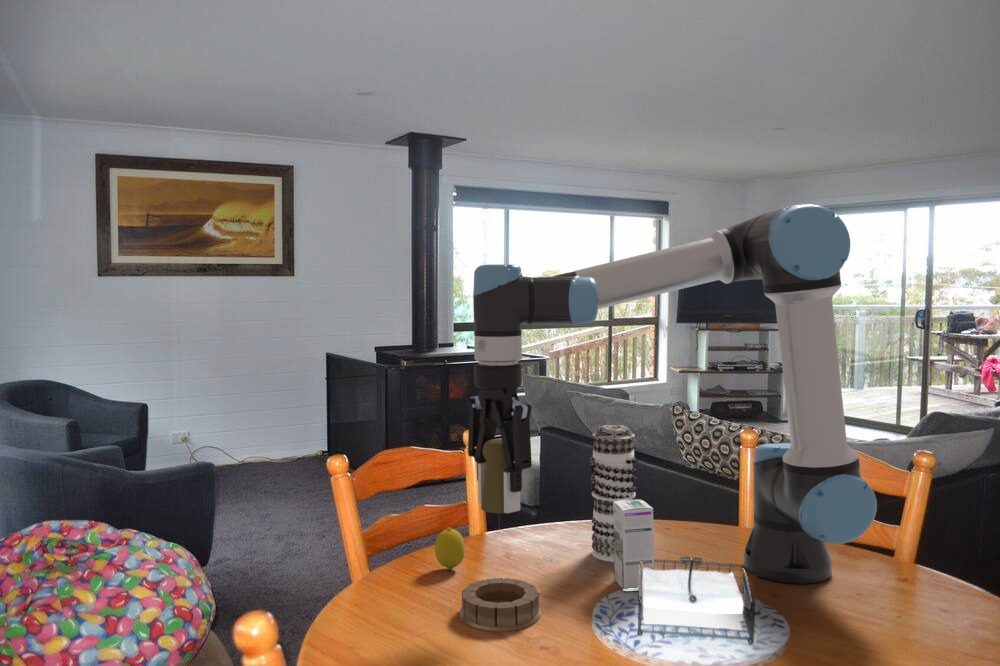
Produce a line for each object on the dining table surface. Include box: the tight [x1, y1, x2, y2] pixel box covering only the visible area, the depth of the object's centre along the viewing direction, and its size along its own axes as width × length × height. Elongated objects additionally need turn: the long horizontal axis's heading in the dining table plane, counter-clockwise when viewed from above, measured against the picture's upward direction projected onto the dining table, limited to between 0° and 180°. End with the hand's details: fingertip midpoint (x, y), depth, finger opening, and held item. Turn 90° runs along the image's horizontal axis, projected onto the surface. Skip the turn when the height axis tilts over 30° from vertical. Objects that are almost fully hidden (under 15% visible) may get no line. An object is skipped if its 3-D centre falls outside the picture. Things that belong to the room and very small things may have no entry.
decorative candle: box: [589, 424, 639, 563], centre depth 150 cm, size 9×9×25 cm
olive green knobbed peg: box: [480, 438, 507, 514], centre depth 124 cm, size 6×6×11 cm
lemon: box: [434, 527, 466, 571], centre depth 144 cm, size 6×6×8 cm
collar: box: [459, 577, 542, 633], centre depth 124 cm, size 13×13×4 cm
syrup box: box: [613, 498, 655, 590], centre depth 135 cm, size 6×6×14 cm
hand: (498, 506), depth 124 cm, fingers closed on olive green knobbed peg, 6 cm apart
